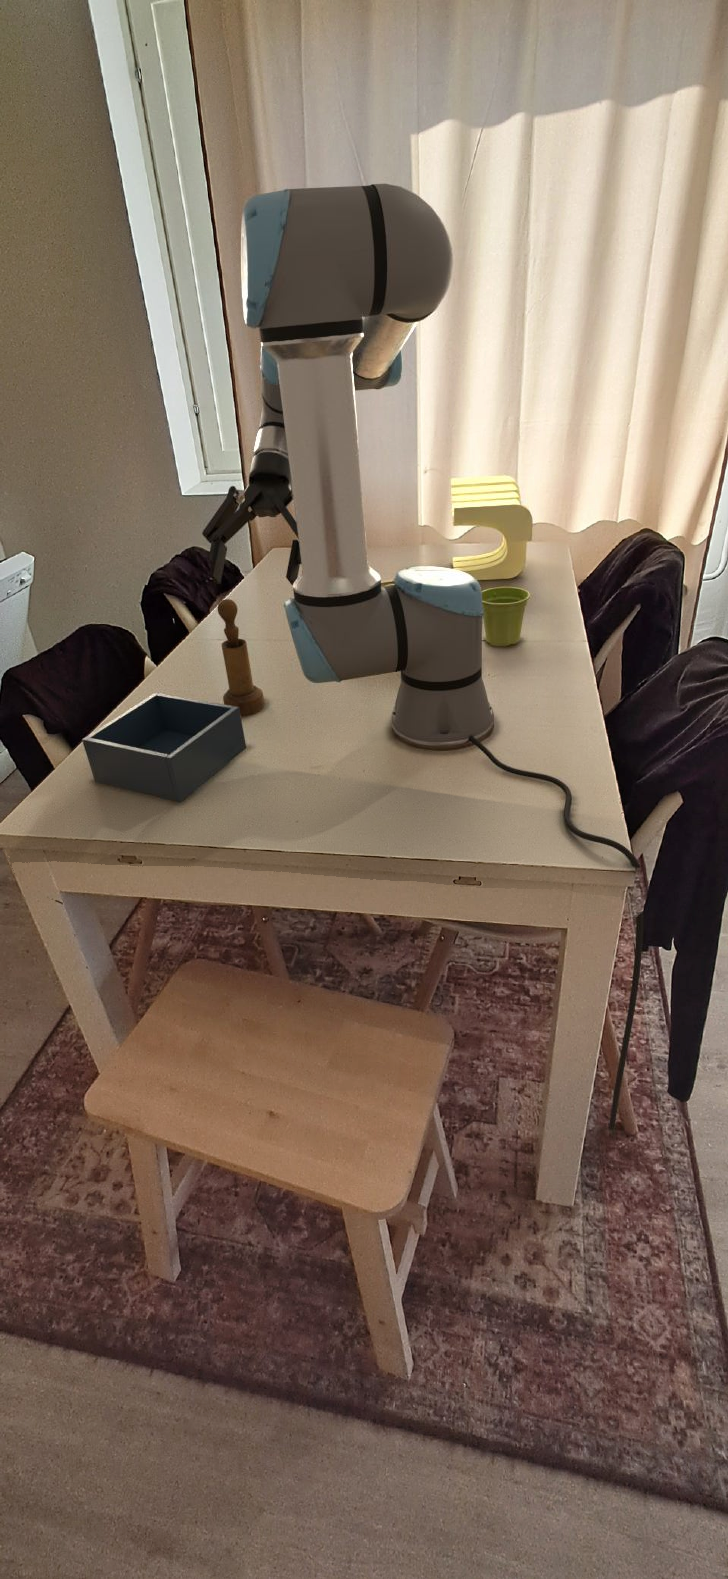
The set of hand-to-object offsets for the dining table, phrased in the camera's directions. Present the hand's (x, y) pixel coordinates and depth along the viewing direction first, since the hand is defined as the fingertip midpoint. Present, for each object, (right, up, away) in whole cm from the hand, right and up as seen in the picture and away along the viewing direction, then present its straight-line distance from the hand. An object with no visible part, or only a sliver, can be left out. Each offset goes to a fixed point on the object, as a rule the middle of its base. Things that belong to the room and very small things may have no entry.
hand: (252, 580), depth 124 cm
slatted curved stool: (+47, +17, +54) cm, 73 cm away
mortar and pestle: (-1, -20, +2) cm, 21 cm away
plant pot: (+44, -7, +17) cm, 47 cm away
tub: (-10, -30, -13) cm, 34 cm away
